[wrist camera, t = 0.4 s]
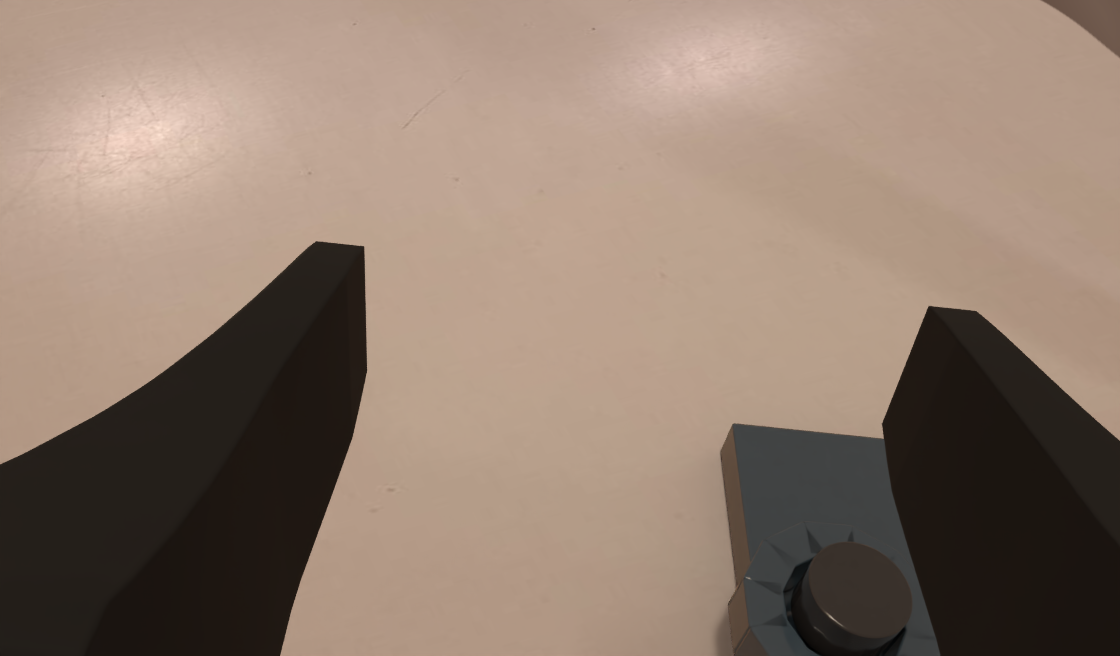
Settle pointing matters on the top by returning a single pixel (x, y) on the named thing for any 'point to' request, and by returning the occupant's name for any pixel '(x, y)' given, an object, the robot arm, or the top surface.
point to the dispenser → (807, 529)
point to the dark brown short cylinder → (851, 601)
